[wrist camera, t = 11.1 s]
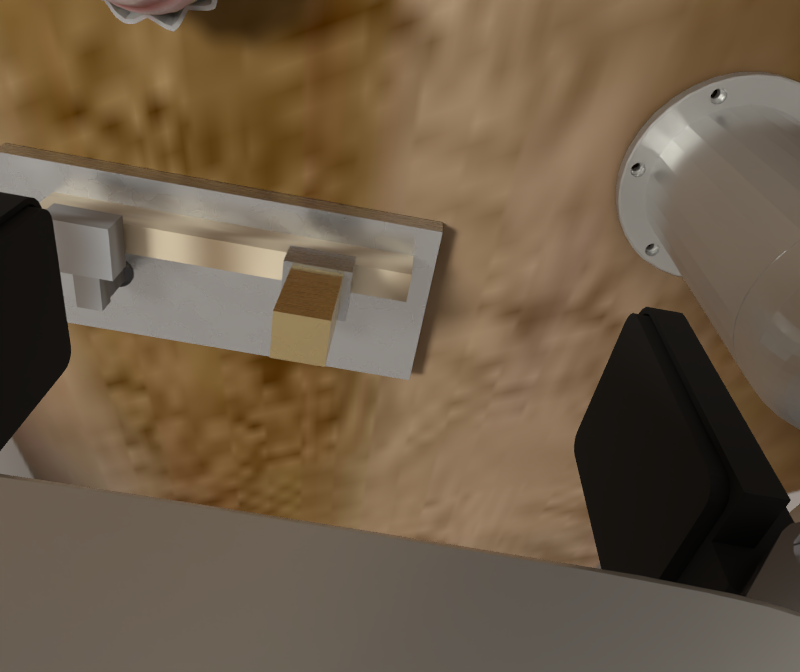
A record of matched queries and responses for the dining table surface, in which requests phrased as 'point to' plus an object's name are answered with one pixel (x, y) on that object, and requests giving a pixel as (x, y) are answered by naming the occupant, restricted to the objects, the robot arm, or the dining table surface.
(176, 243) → the sliding bolt bar
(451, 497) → the dining table surface
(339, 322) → the bolt plate
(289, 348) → the block
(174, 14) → the cupcake
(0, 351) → the robot arm
